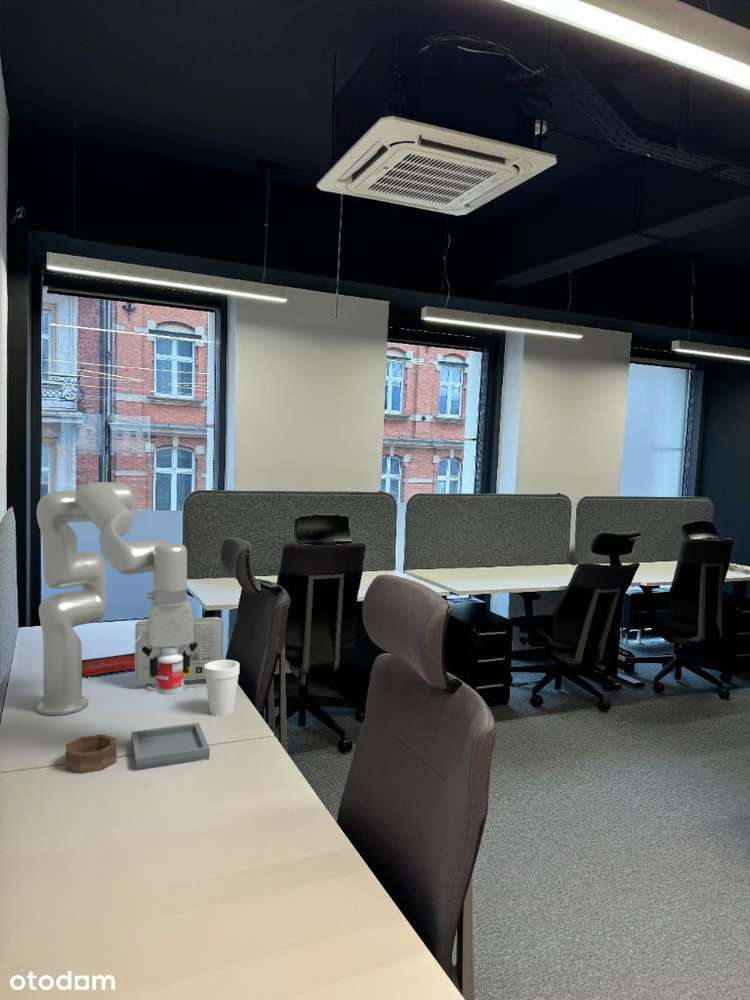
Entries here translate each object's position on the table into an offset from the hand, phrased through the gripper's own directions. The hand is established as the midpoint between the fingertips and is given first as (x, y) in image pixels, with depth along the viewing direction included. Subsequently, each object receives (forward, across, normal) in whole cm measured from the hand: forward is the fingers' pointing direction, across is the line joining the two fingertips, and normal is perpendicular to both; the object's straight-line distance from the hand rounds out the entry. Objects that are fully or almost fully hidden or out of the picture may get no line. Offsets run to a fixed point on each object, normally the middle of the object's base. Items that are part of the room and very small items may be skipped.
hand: (169, 671), depth 155 cm
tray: (+19, 0, 0) cm, 19 cm away
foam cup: (+19, +16, +20) cm, 32 cm away
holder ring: (+19, -17, 0) cm, 25 cm away
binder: (+20, -10, +71) cm, 74 cm away
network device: (+19, +8, +46) cm, 50 cm away
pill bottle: (+5, 0, 0) cm, 5 cm away
